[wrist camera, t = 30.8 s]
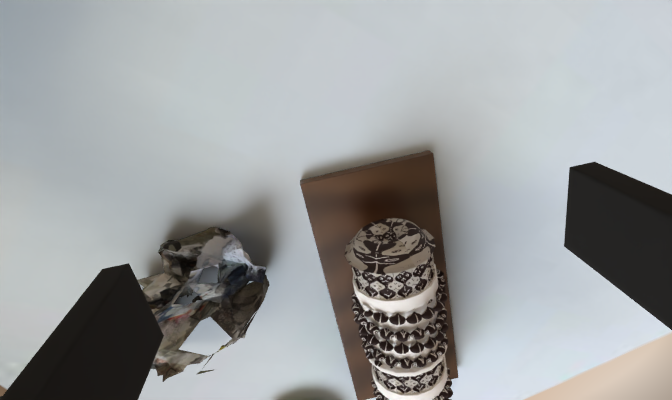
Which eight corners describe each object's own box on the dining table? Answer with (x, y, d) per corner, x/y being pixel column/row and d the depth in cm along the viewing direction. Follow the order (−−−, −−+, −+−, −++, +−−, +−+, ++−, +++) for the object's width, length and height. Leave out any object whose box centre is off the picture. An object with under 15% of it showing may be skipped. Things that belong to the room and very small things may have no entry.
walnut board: (454, 370, 50) (458, 377, 49) (356, 393, 50) (358, 401, 49) (429, 150, 38) (433, 153, 37) (300, 180, 38) (300, 184, 37)
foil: (291, 332, 41) (144, 425, 33) (245, 286, 49) (116, 352, 41) (273, 238, 36) (93, 321, 28) (224, 203, 44) (73, 260, 36)
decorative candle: (477, 428, 42) (465, 231, 32) (407, 476, 39) (368, 276, 29) (425, 371, 50) (401, 198, 40) (363, 408, 47) (320, 231, 37)
